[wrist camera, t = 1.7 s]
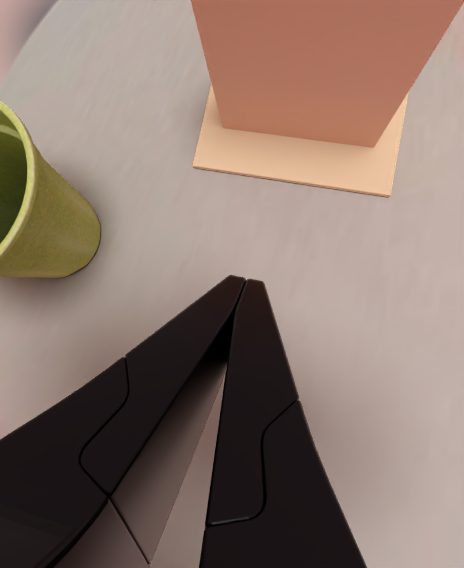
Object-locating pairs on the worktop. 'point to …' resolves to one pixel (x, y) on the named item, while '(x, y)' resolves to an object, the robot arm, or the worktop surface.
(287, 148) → the cork mat
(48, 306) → the worktop surface
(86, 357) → the worktop surface
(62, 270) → the plant pot
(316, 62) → the tile
